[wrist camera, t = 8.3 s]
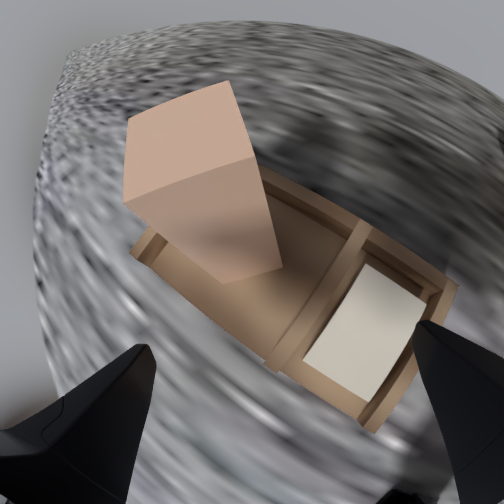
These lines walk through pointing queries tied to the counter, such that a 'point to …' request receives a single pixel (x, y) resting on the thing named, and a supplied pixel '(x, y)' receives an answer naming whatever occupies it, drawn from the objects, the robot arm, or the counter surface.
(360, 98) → the counter surface
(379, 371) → the clay tile
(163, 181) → the clay bar
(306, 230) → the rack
